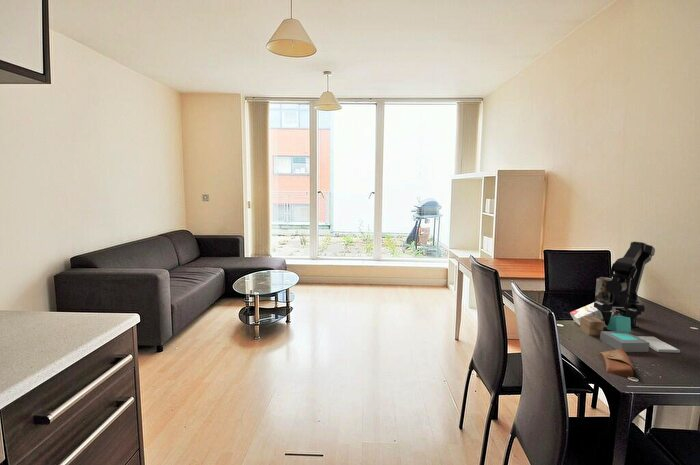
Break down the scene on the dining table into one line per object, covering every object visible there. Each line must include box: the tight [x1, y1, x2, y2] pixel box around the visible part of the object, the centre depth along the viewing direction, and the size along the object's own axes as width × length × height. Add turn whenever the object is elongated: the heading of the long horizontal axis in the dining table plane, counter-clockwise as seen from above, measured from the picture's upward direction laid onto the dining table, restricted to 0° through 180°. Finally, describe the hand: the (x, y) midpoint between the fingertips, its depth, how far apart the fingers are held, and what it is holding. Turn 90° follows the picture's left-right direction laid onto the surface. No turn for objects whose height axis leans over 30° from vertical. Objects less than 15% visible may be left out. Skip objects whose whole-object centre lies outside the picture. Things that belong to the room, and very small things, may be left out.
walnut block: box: [579, 317, 605, 336], centre depth 157 cm, size 6×6×6 cm
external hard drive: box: [636, 335, 681, 353], centre depth 145 cm, size 2×8×12 cm
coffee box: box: [594, 276, 619, 314], centre depth 186 cm, size 9×6×16 cm
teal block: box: [606, 315, 632, 333], centre depth 158 cm, size 6×6×6 cm
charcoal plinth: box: [599, 330, 650, 353], centre depth 144 cm, size 11×11×4 cm
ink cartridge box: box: [569, 302, 615, 326], centre depth 164 cm, size 9×5×15 cm
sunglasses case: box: [598, 348, 638, 379], centre depth 128 cm, size 18×7×7 cm
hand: (616, 325), depth 158 cm, fingers open, 9 cm apart
